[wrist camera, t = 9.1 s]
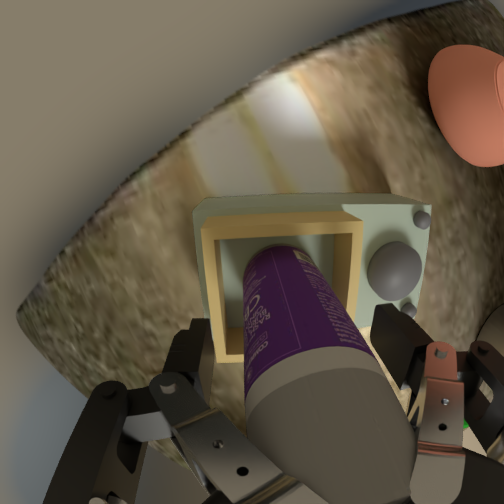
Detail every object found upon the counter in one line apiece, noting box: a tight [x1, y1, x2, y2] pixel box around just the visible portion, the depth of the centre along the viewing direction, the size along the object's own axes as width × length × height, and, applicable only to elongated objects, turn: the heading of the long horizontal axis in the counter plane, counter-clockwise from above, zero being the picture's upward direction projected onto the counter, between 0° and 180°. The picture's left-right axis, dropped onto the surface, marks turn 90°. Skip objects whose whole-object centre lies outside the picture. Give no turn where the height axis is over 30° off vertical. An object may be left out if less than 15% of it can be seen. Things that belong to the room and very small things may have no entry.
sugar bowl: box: [428, 45, 504, 167], centre depth 15 cm, size 12×14×10 cm
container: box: [243, 243, 416, 504], centre depth 11 cm, size 5×5×15 cm
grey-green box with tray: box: [192, 193, 431, 363], centre depth 19 cm, size 16×9×9 cm, turn 93°
